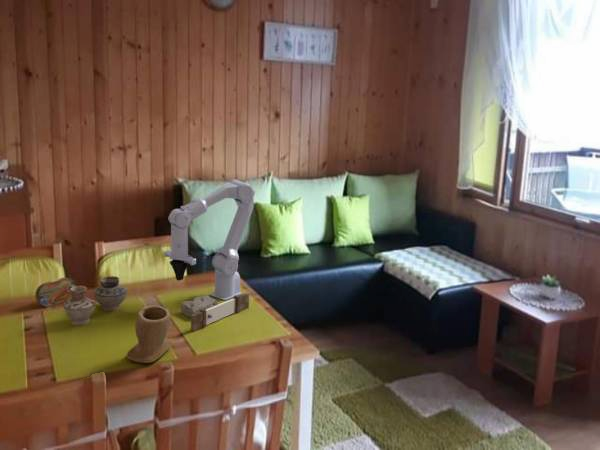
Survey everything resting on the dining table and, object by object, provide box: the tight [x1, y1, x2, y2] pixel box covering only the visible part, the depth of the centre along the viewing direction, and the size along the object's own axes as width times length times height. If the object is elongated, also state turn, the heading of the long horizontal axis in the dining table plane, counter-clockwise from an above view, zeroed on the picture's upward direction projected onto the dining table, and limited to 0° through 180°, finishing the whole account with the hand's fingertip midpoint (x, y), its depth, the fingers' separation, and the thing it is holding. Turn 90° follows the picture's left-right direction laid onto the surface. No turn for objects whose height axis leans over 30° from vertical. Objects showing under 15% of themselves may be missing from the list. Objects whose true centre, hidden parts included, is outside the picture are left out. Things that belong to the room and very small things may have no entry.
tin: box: [35, 277, 78, 308], centre depth 212 cm, size 15×3×8 cm, turn 143°
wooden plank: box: [190, 292, 250, 332], centre depth 205 cm, size 27×2×6 cm, turn 144°
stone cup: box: [126, 305, 174, 364], centre depth 177 cm, size 15×12×15 cm
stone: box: [180, 294, 219, 318], centre depth 210 cm, size 13×6×10 cm
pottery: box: [62, 275, 128, 326], centre depth 203 cm, size 11×25×12 cm, turn 156°
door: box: [206, 297, 236, 326], centre depth 204 cm, size 15×2×5 cm, turn 144°
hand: (179, 279), depth 214 cm, fingers closed
